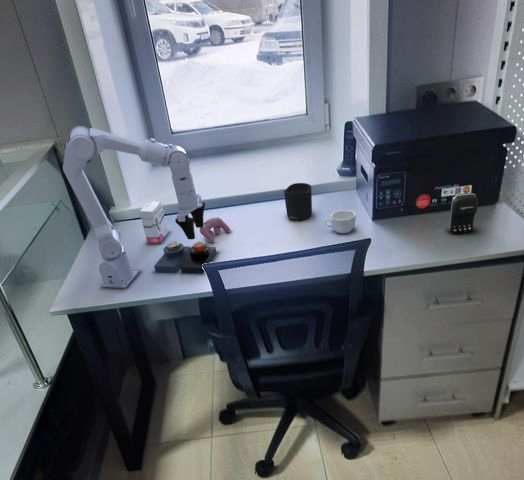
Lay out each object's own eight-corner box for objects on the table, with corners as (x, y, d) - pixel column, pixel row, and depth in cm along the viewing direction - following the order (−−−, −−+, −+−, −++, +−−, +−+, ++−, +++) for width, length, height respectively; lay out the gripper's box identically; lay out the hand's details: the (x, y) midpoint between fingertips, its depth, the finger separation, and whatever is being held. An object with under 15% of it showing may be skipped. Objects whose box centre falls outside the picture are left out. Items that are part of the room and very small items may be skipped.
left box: (175, 272, 155) (172, 261, 152) (155, 272, 157) (152, 260, 154) (191, 252, 164) (188, 241, 162) (172, 251, 166) (169, 241, 164)
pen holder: (282, 214, 178) (279, 187, 172) (307, 208, 180) (305, 180, 174) (291, 224, 171) (289, 196, 165) (317, 217, 173) (315, 189, 166)
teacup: (354, 224, 165) (354, 208, 162) (357, 234, 159) (356, 218, 156) (324, 226, 166) (323, 211, 163) (325, 237, 160) (324, 221, 157)
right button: (202, 252, 155) (201, 247, 154) (192, 252, 156) (191, 247, 155) (206, 246, 158) (205, 241, 157) (196, 246, 159) (195, 241, 158)
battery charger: (451, 235, 151) (455, 199, 144) (447, 230, 154) (452, 194, 147) (475, 233, 151) (480, 196, 143) (471, 227, 154) (476, 191, 146)
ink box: (161, 243, 172) (152, 211, 165) (147, 244, 173) (138, 211, 166) (169, 232, 178) (161, 200, 171) (156, 232, 180) (147, 201, 172)
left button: (176, 251, 158) (175, 246, 157) (166, 251, 159) (165, 246, 158) (181, 246, 160) (179, 241, 159) (171, 246, 161) (169, 241, 160)
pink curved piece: (224, 233, 175) (214, 215, 173) (232, 230, 172) (222, 211, 170) (205, 245, 170) (194, 227, 168) (212, 242, 166) (202, 223, 164)
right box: (202, 273, 152) (199, 262, 150) (181, 273, 154) (178, 261, 152) (216, 252, 162) (214, 241, 159) (197, 252, 164) (194, 241, 161)
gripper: (188, 200, 139) (199, 244, 147) (206, 179, 149) (215, 221, 158) (166, 201, 141) (178, 244, 149) (184, 180, 151) (194, 222, 160)
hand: (195, 232), depth 154 cm, fingers open, 7 cm apart
